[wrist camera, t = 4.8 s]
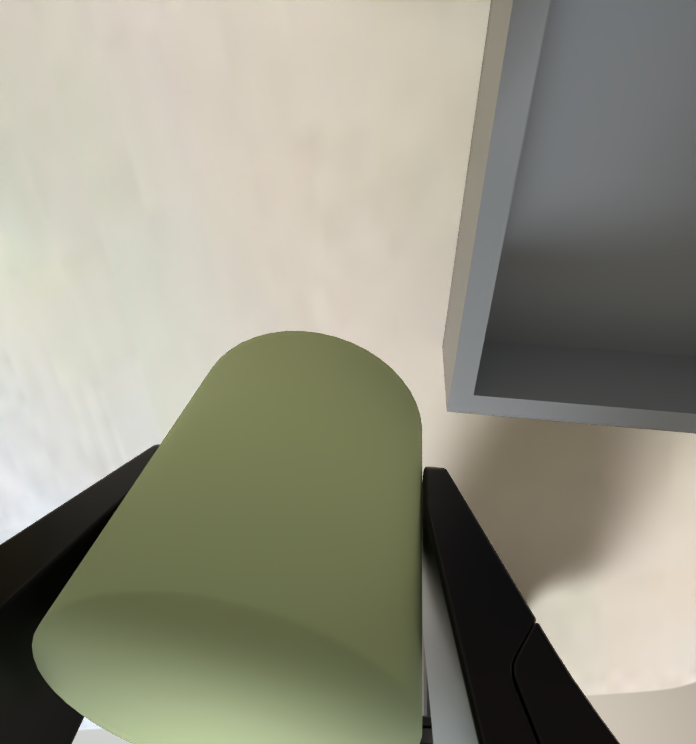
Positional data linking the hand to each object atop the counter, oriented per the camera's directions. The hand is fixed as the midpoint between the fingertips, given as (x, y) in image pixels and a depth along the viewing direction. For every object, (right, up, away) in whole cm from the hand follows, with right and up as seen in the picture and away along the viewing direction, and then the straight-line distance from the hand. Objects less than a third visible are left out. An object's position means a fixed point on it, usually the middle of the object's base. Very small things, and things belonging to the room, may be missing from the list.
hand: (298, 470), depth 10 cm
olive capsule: (0, +1, +1) cm, 1 cm away
